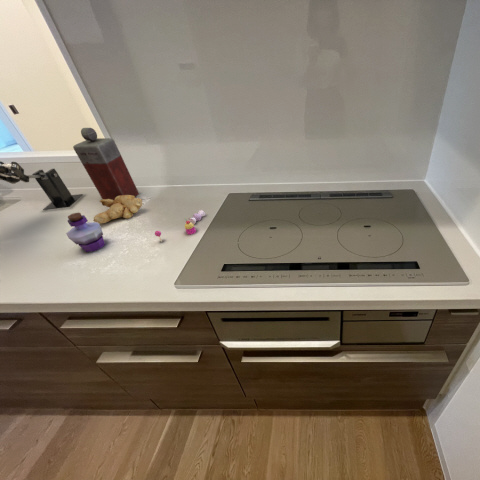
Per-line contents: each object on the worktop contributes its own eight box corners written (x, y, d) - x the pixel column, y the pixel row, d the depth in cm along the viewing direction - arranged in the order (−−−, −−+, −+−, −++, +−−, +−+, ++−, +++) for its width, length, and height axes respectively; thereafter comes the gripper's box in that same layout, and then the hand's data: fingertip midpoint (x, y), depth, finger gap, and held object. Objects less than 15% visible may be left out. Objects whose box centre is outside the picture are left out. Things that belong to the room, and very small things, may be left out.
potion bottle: (82, 243, 85) (60, 211, 78) (113, 236, 88) (94, 205, 80) (75, 259, 78) (50, 226, 71) (109, 251, 81) (88, 218, 74)
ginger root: (147, 196, 107) (138, 180, 101) (150, 223, 98) (140, 207, 92) (103, 206, 103) (90, 190, 96) (101, 235, 94) (87, 219, 87)
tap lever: (16, 182, 85) (12, 172, 84) (5, 183, 85) (0, 173, 84) (55, 179, 101) (52, 170, 100) (46, 180, 101) (42, 171, 100)
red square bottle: (113, 194, 112) (75, 125, 95) (139, 194, 112) (106, 124, 95) (99, 205, 105) (56, 131, 88) (127, 204, 105) (89, 131, 88)
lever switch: (71, 209, 103) (48, 175, 94) (44, 212, 101) (19, 178, 93) (84, 196, 111) (65, 164, 103) (60, 199, 110) (38, 167, 102)
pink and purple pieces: (194, 215, 98) (189, 200, 94) (213, 218, 96) (208, 203, 92) (157, 243, 84) (150, 228, 80) (178, 248, 82) (171, 232, 79)
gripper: (-9, 140, 73) (45, 168, 90) (-71, 144, 71) (-4, 171, 88) (-10, 166, 72) (45, 188, 89) (-73, 170, 70) (-4, 193, 87)
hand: (20, 180), depth 88 cm, fingers closed on tap lever, 3 cm apart
